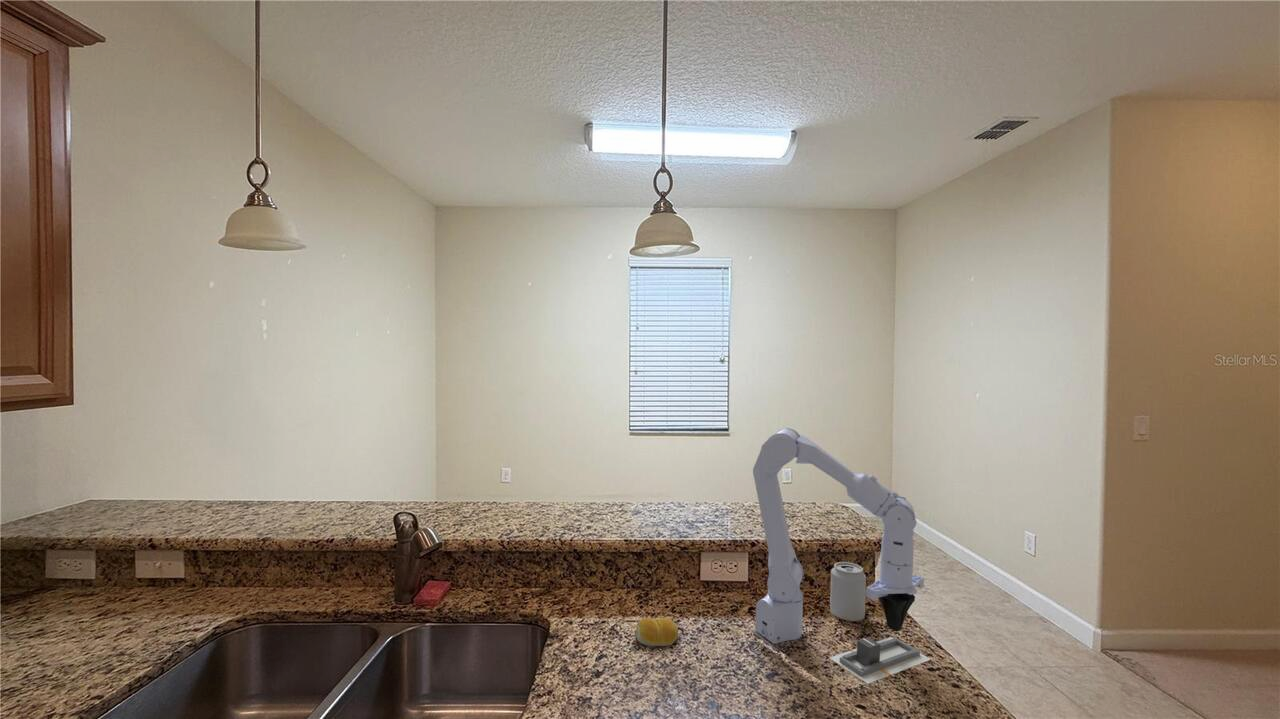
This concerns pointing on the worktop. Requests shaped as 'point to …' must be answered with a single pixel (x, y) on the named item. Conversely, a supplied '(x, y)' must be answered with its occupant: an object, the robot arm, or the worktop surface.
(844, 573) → the can
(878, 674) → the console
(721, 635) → the worktop surface
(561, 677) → the worktop surface
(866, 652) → the fader
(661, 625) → the bread roll
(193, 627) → the worktop surface
